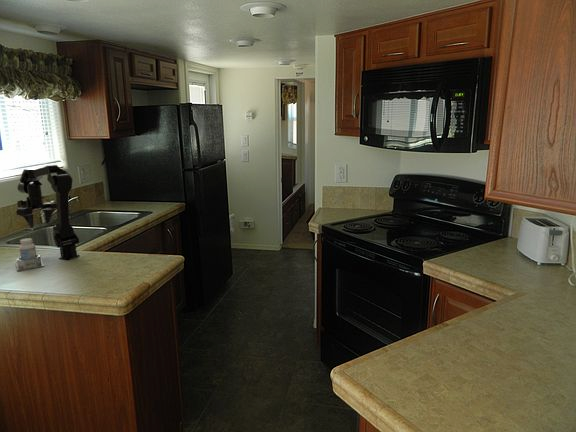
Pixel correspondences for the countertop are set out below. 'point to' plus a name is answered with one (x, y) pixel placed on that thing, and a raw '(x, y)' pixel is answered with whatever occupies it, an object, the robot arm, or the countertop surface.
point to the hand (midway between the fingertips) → (39, 225)
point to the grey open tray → (29, 263)
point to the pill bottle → (27, 249)
